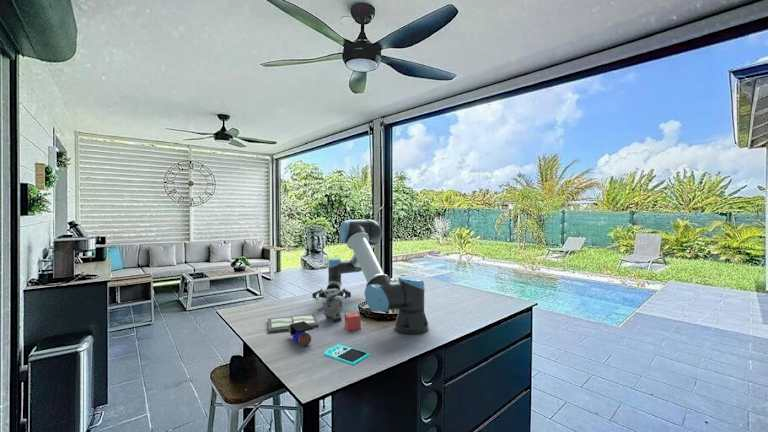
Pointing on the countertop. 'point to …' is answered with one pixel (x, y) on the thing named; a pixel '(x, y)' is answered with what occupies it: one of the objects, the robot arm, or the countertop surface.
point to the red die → (352, 321)
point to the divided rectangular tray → (290, 322)
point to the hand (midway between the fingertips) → (330, 299)
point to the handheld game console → (346, 354)
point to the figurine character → (300, 332)
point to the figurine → (331, 304)
